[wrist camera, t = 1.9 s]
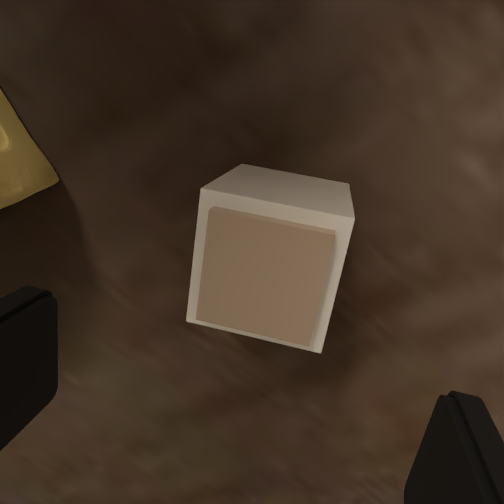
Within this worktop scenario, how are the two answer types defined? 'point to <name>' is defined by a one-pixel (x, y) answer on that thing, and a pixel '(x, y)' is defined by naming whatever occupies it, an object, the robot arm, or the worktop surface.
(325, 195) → the white cube
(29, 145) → the cheese
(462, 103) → the worktop surface
